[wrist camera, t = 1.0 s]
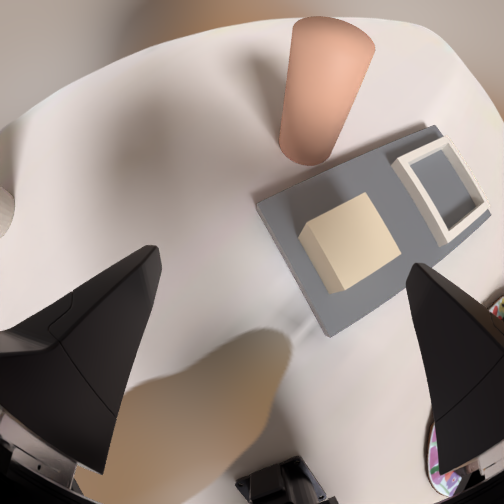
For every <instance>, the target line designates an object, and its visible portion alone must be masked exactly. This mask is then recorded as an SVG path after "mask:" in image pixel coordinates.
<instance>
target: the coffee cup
mask: <svg viewBox="0 0 504 504" xmlns="http://www.w3.org/2000/svg"><path fill="white" fill-rule="evenodd" d="M14 209H15V203H14V198H13V196H12V195H11V194H10V193H9V192H7V191H6V190H5V189H4V188H3V187H1V186H0V238H1V237H3V236H4V234H5V233H6V232H7V230H8V228H9V226H10V224H11V222H12V219H13V215H14Z"/></svg>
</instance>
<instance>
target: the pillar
mask: <svg viewBox="0 0 504 504" xmlns="http://www.w3.org/2000/svg"><path fill="white" fill-rule="evenodd" d="M374 52H375V45H374V43H373V41H372V40H371V38H370V37H369V36H368V35H367V34H366V33H365V32H363V31H362V30H360V29H359V28H357V27H356V26H354V25H352V24H350V23H347V22H345V21H342V20H339V19H335V18H330V17H321V16H316V17H307V18H303V19H301V20H299V21H297V22H296V23H295V24H294V26H293V31H292V39H291V48H290V56H289V64H288V73H287V81H286V89H285V97H284V105H283V113H282V120H281V128H280V136H279V145H280V148H281V150H282V152H283V153H284V154H285V156H286V157H288V158H289V159H290V160H292V161H293V162H295V163H298V164H301V165H306V166H313V165H318V164H321V163H323V162H324V161H326V160H327V159H328V157H329V156H330V154H331V152H332V150H333V148H334V146H335V143H336V141H337V139H338V137H339V134H340V132H341V130H342V128H343V125H344V123H345V121H346V119H347V116H348V114H349V112H350V109H351V107H352V105H353V102H354V100H355V98H356V95H357V93H358V91H359V88H360V86H361V84H362V81H363V79H364V77H365V74H366V72H367V69H368V67H369V65H370V62H371V60H372V57H373V55H374Z"/></svg>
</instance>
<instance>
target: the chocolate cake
mask: <svg viewBox="0 0 504 504" xmlns="http://www.w3.org/2000/svg"><path fill="white" fill-rule="evenodd" d="M489 311H490V312H492V313H493V314H494V315H495V316H497V317H498V318H499V319H500V320H502V321H503V322H504V295H503V296H501V297H500V298H498V299H497V300H496V301H495V302H494V303H493V304H492V306H491V307H490V308H489ZM427 451H428V455H427V464H428V473H427V474H428V478H429V482H430V483H431V485H432V487H433V488H434V490H436V492H438V493H439V494H441V495H444V496H447V497H451V496H453V494H454V492H455V490H456V488H457V486H458V484H459V483H460V481H461V479H462V477H463V476H466V475H468V474H470V473H472V472H474V471H476V470H478V469H479V465H478V461H475V462H472V463H470V464H468V465H466V466H464V467H461V468H459V469H457V470H454V471H452V472H449V473H447V474H444V475H441V476H440V474H439V464H438V451H437V441H436V432H435V423H434V422H433V424H432V425H431V426H430V432H429V436H428V450H427Z"/></svg>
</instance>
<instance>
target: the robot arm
mask: <svg viewBox="0 0 504 504" xmlns="http://www.w3.org/2000/svg"><path fill="white" fill-rule="evenodd" d="M161 271H162V264H161V259H160V253H159V248H158V247H157V246H154V245H146V246H144V247H142V248H141V249H139V250H137V251H135V252H134V253H132V254H130V255H129V256H127V257H125V258H124V259H122V260H120V261H119V262H117V263H115V264H114V265H112V266H111V267H109V268H107V269H106V270H104V271H102V272H101V273H99V274H98V275H96V276H95V277H93V278H91V279H90V280H88V281H87V282H85V283H84V284H82V285H80V286H79V287H77V288H76V289H74V290H73V292H70V293H68V294H67V295H65V296H64V297H62V298H60V299H59V300H57V301H56V302H54V303H53V304H51V305H49V306H48V307H46V308H44V309H43V310H41V311H39V312H38V313H36V314H34V315H32V316H31V317H29V318H27V319H26V320H24V321H22V322H21V323H19V324H17V325H16V326H14V327H12V328H10V329H7V330H4V331H0V504H102V503H99V502H97V501H94V500H92V499H90V498H87V497H85V496H84V495H83V493H82V491H81V490H80V488H79V486H78V484H77V483H76V480H75V479H74V474H75V470H76V467H77V465H78V466H81V467H83V468H85V469H88V470H90V471H93V472H96V473H98V474H101V475H103V472H104V468H105V464H106V460H107V455H108V451H109V447H110V443H111V439H112V435H113V431H114V427H115V423H116V420H117V419H116V418H117V416H118V412H119V409H120V405H121V401H122V398H123V395H124V391H125V388H126V385H127V382H128V378H129V375H130V372H131V369H132V366H133V363H134V360H135V357H136V354H137V351H138V348H139V345H140V342H141V339H142V336H143V333H144V330H145V327H146V325H147V322H148V319H149V316H150V313H151V311H152V307H153V304H154V299H155V295H156V291H157V287H158V283H159V279H160V276H161ZM406 290H407V295H408V300H409V305H410V310H411V315H412V320H413V324H414V328H415V331H416V335H417V339H418V343H419V347H420V351H421V355H422V359H423V363H424V368H425V372H426V377H427V382H428V387H429V392H430V398H431V404H432V410H433V417H434V423H435V432H436V441H437V451H438V464H439V474H440V476H441V475H444V474H447V473H449V472H452V471H454V470H457V469H459V468H461V467H464V466H466V465H468V464H470V463H472V462H475V461H478V465H479V469H478V470H476V471H474V472H472V473H470V474H468V475H466V476H463V477H462V479H461V481H460V483H459V484H458V486H457V488H456V490H455V492H454V494H453V496H451V497H449V498H447V499H444V500H442V501H440V502H437V503H435V504H504V322H503V321H502V320H500V319H499V318H498V317H497V316H495V315H494V314H493V313H492V312H490V311H489V310H488V309H487V308H485V307H484V306H483V305H481V304H480V303H479V302H478V301H476V300H475V299H474V298H472V297H471V296H470V295H468V294H467V293H466V292H464V291H463V290H462V289H460V288H459V287H458V286H456V285H455V284H453V283H452V282H451V281H449V280H448V279H446V278H445V277H444V276H442V275H441V274H439V273H438V272H436V271H435V270H434V269H432V268H431V267H429V266H428V265H426V264H425V263H414V264H413V265H412V268H411V270H410V272H409V275H408V277H407V280H406ZM295 461H299V462H298V463H295ZM239 483H242V484H243V485H240V484H239ZM235 486H236V487H237V489H238V490H239V491H240V492H241V494H242V495H243V496H244V497H245V499H246V500H247V501H248V502H249V503H250V504H339V503H338V501H337V500H336V498H335V496H333V497H331V498H328V500H326V501H323V500H324V499H326V497H327V496H326V493H325V492H324V490H323V489H322V488H321V486H320V485H319V483H318V482H317V480H316V479H315V477H314V476H313V474H312V473H311V471H310V470H309V468H308V467H307V465H306V464H305V462H304V461H303V459H302V458H301V457H299V456H296V457H293V458H291V459H289V460H287V461H284V462H282V463H280V464H275V465H272V466H270V467H267V468H265V469H262V470H260V471H257V472H255V473H252V474H251V475H249V476H247V477H244V478H241V479H238V480H236V483H235ZM320 496H322V497H320ZM320 501H323V502H321V503H319V502H320Z"/></svg>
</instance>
